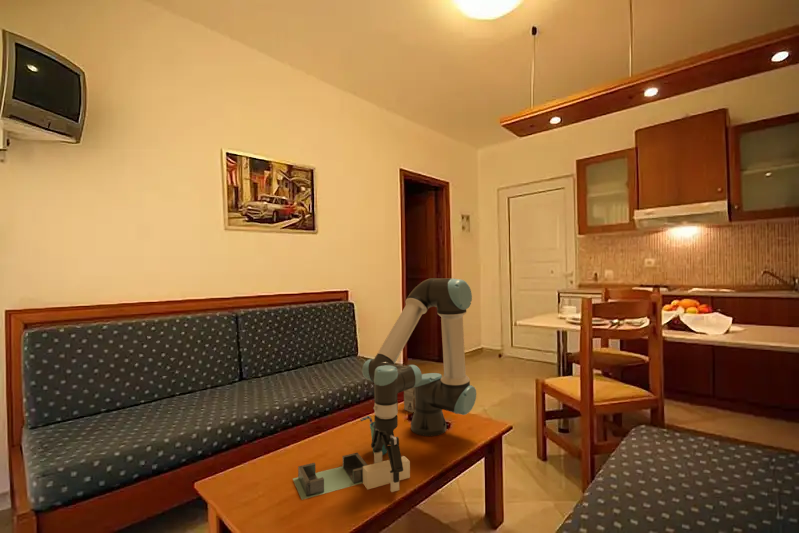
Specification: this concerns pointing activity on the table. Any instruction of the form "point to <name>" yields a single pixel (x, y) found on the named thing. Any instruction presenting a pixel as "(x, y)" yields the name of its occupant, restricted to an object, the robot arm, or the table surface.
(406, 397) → the coffee box
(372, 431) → the cup
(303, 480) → the cap
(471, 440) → the table surface
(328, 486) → the mat
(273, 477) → the table surface
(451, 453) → the table surface
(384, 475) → the slat
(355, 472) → the grey u-shaped bracket
